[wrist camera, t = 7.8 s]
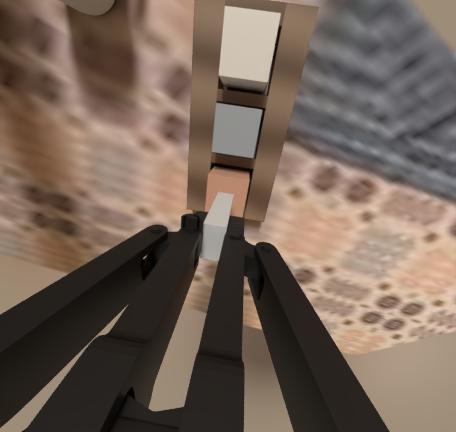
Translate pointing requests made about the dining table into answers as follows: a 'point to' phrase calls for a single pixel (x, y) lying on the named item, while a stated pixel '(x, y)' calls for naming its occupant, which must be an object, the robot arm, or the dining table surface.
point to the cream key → (247, 47)
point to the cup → (90, 6)
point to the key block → (244, 98)
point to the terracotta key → (228, 187)
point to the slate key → (235, 130)
